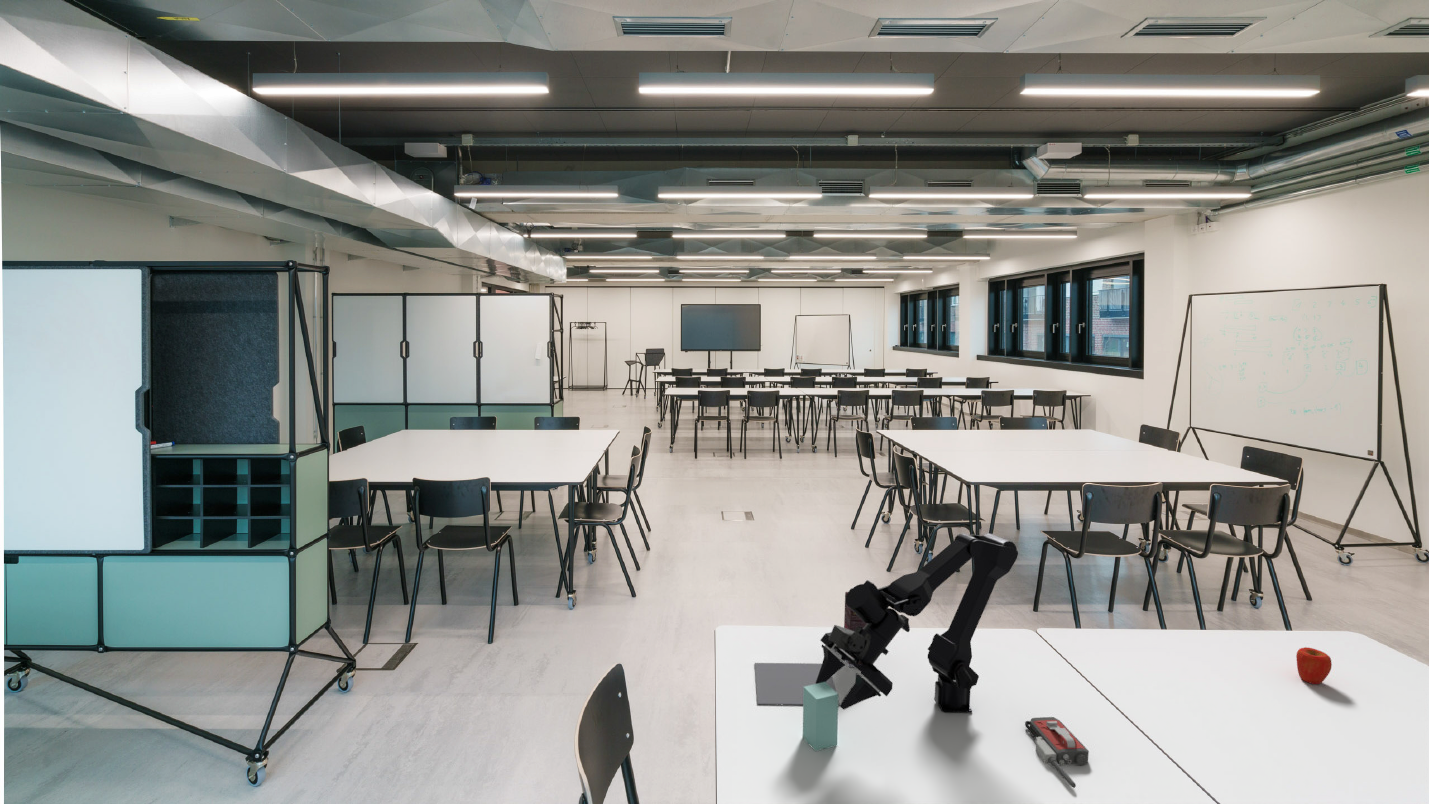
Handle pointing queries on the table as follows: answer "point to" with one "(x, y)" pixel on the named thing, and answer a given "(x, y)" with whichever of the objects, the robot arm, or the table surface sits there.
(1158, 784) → the table surface
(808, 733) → the teal block
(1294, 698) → the table surface
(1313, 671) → the apple
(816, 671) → the charcoal mat
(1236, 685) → the table surface
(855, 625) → the supplement box
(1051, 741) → the walkie-talkie
